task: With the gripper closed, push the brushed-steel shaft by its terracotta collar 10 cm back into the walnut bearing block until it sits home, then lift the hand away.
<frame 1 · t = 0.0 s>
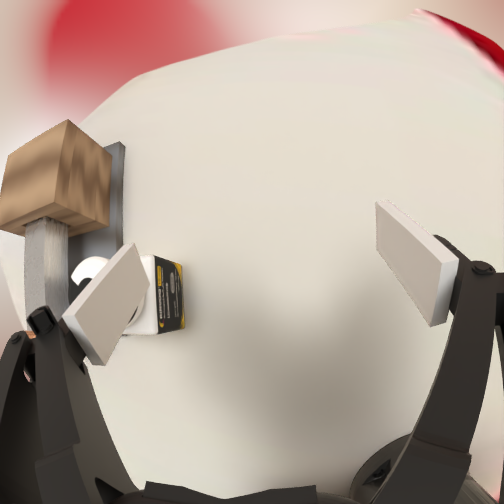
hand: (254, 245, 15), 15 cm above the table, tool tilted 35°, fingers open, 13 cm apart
bearing block: (83, 203, 35), on the table
medicine bottle: (155, 297, 31), on the table
shaft: (45, 266, 26), point 7 cm above the table, slide at 10.0 cm
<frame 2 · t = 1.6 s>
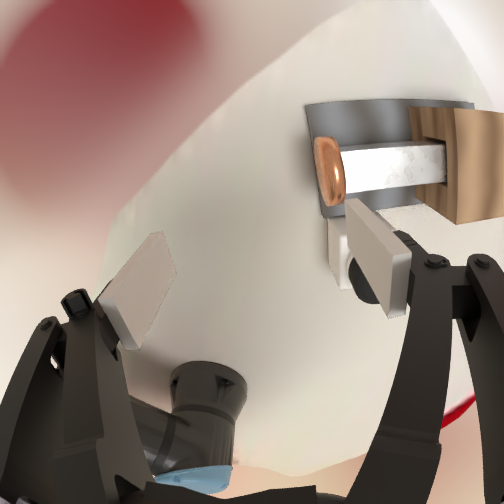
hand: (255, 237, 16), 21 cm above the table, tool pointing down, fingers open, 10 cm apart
bearing block: (437, 149, 31), on the table
medicine bottle: (352, 236, 38), on the table
shaft: (400, 162, 26), point 7 cm above the table, slide at 10.0 cm
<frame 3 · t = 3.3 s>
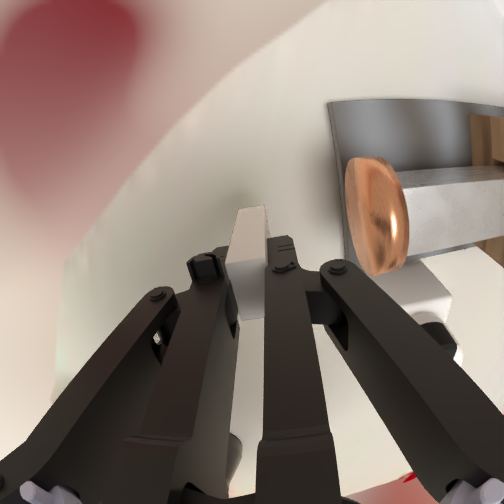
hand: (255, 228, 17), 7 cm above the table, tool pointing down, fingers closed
bearing block: (494, 173, 20), on the table
medicine bottle: (383, 290, 27), on the table
shaft: (471, 201, 15), point 7 cm above the table, slide at 10.0 cm
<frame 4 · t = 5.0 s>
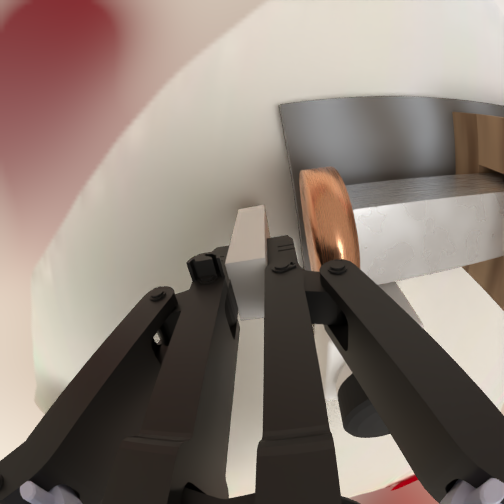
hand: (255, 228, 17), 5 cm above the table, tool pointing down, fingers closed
bearing block: (484, 180, 19), on the table
medicine bottle: (351, 310, 25), on the table
shaft: (454, 217, 13), point 7 cm above the table, slide at 9.4 cm, touching gripper
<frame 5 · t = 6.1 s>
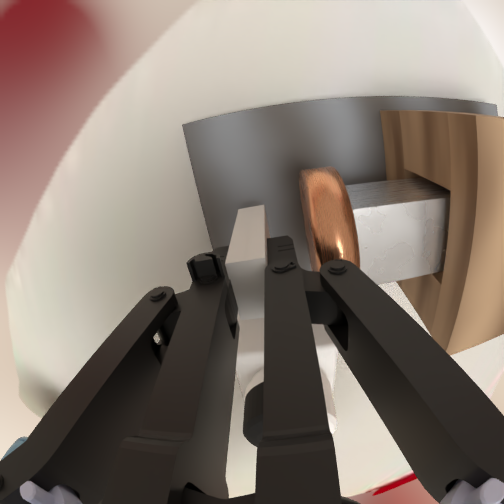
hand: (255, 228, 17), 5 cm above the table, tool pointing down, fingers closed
bearing block: (432, 184, 19), on the table
medicine bottle: (283, 321, 26), on the table
shaft: (454, 217, 13), point 7 cm above the table, slide at 3.0 cm, touching gripper
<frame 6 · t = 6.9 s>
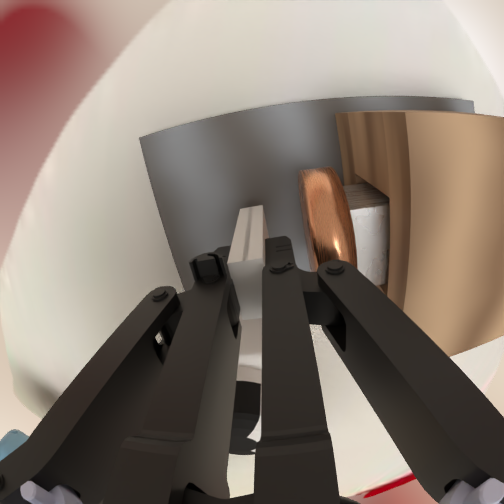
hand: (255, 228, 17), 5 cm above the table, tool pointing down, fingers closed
bearing block: (400, 187, 20), on the table
medicine bottle: (248, 325, 26), on the table
shaft: (454, 218, 13), point 7 cm above the table, slide at -0.2 cm, touching gripper
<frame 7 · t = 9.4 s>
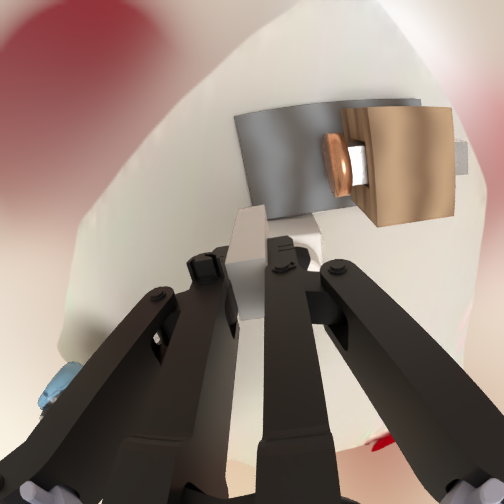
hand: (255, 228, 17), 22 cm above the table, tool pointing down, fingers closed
bearing block: (378, 150, 34), on the table
medicine bottle: (289, 238, 41), on the table
shaft: (401, 158, 28), point 7 cm above the table, slide at 0.0 cm
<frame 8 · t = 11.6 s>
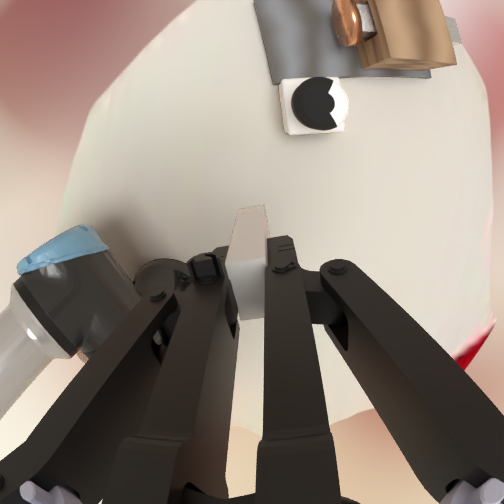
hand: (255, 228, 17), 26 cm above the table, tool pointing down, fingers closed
bearing block: (380, 35, 30), on the table
medicine bottle: (306, 107, 37), on the table
shaft: (401, 24, 24), point 7 cm above the table, slide at 0.0 cm
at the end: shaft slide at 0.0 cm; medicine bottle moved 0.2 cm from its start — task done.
